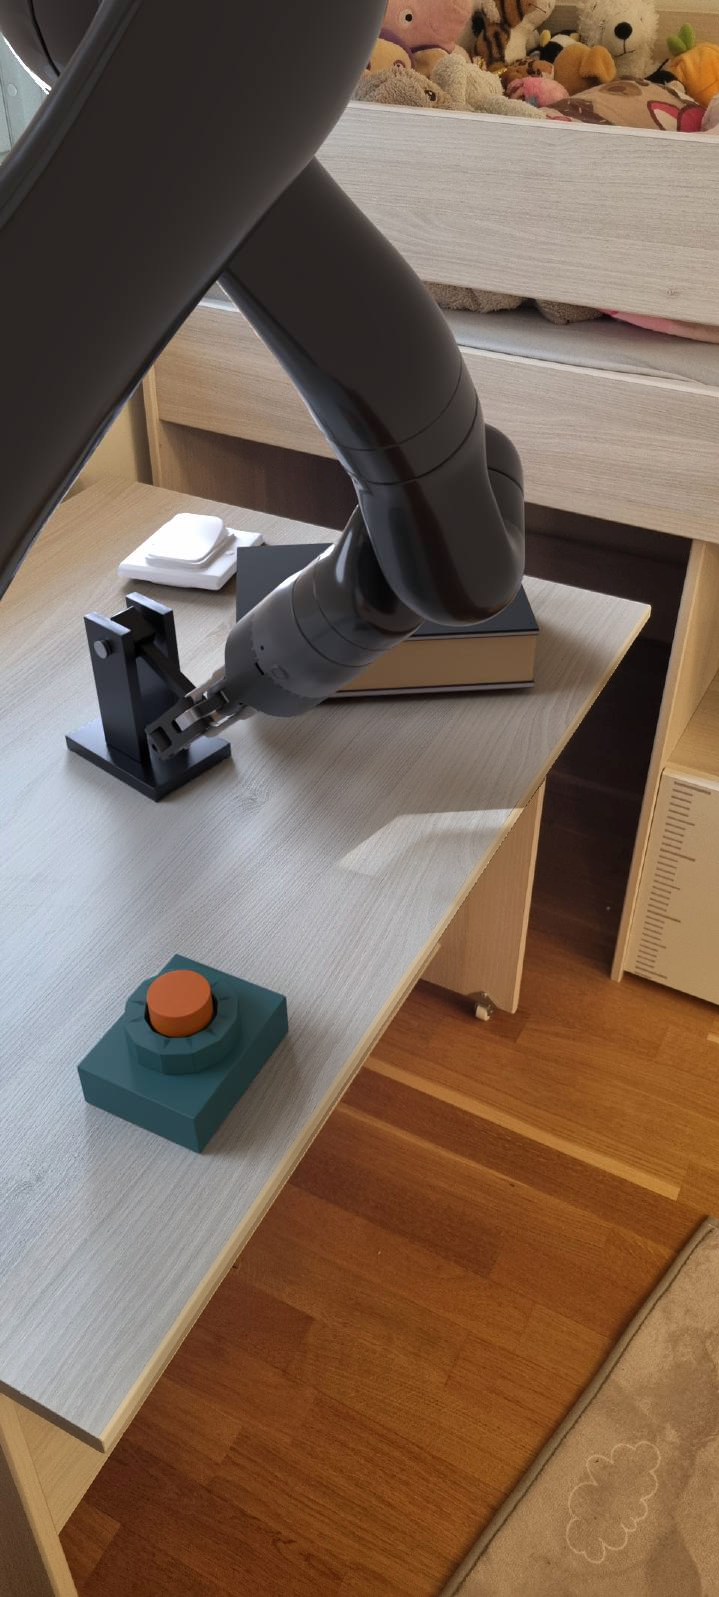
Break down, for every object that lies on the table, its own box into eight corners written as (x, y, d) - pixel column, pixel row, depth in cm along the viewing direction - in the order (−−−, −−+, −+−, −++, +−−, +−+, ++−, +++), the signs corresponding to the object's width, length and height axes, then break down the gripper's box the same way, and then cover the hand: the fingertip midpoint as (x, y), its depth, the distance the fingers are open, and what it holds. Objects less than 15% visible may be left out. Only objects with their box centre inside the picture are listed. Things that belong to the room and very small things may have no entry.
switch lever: (233, 716, 90) (241, 697, 88) (188, 743, 88) (195, 724, 86) (140, 620, 93) (145, 599, 91) (93, 643, 90) (97, 622, 88)
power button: (190, 1046, 67) (187, 1025, 66) (137, 1024, 68) (133, 1003, 67) (225, 1003, 69) (222, 982, 68) (173, 982, 71) (170, 962, 70)
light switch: (263, 509, 124) (216, 557, 114) (265, 546, 127) (218, 597, 117) (167, 497, 127) (113, 543, 117) (171, 534, 129) (117, 582, 119)
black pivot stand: (231, 755, 96) (218, 616, 88) (156, 802, 92) (135, 659, 84) (142, 706, 102) (122, 571, 94) (67, 748, 97) (39, 609, 89)
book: (241, 609, 115) (236, 546, 111) (499, 597, 116) (503, 534, 112) (241, 710, 101) (235, 642, 97) (533, 695, 103) (539, 628, 98)
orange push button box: (199, 1155, 67) (190, 1098, 64) (84, 1102, 70) (70, 1045, 67) (289, 1031, 74) (285, 975, 71) (181, 988, 77) (172, 932, 73)
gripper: (348, 551, 80) (242, 641, 93) (191, 634, 72) (98, 721, 85) (408, 646, 81) (294, 723, 94) (259, 739, 72) (156, 809, 86)
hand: (201, 722), depth 89 cm, fingers open, 8 cm apart
